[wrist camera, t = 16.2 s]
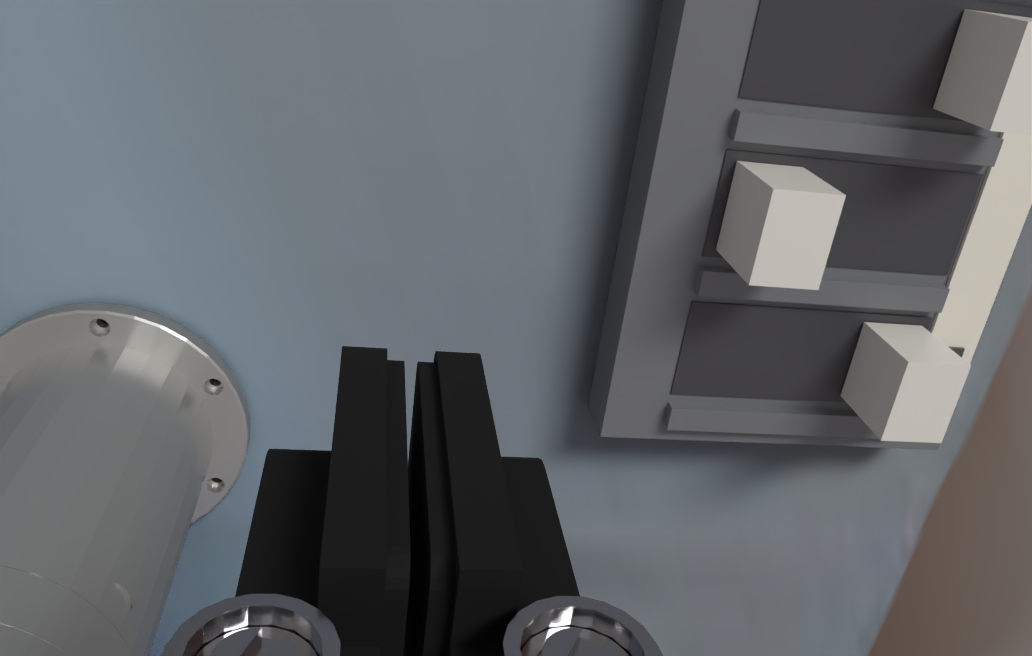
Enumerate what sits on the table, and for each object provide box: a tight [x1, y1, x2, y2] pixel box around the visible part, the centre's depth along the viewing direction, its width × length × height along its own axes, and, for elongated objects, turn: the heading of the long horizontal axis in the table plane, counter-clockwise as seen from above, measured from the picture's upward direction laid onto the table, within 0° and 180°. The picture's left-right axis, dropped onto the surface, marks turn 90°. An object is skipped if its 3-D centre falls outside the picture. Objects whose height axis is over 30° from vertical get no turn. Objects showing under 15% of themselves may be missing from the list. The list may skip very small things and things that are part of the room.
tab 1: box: [841, 322, 971, 443], centre depth 41 cm, size 4×3×4 cm
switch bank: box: [588, 0, 1032, 450], centre depth 40 cm, size 24×18×4 cm
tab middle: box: [716, 161, 846, 290], centre depth 37 cm, size 4×3×4 cm
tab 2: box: [933, 9, 1032, 135], centre depth 35 cm, size 4×3×4 cm
